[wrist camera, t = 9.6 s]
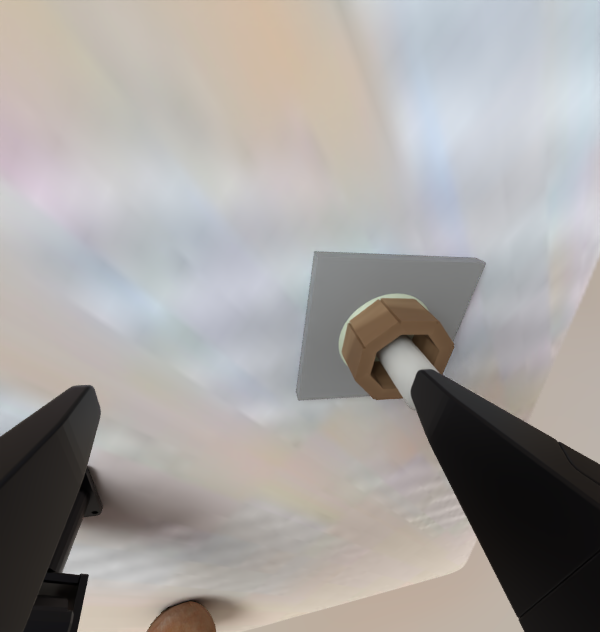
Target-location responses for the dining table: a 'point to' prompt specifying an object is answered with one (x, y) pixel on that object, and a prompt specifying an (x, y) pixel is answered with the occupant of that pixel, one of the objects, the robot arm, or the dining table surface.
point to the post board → (360, 292)
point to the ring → (381, 329)
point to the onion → (184, 619)
